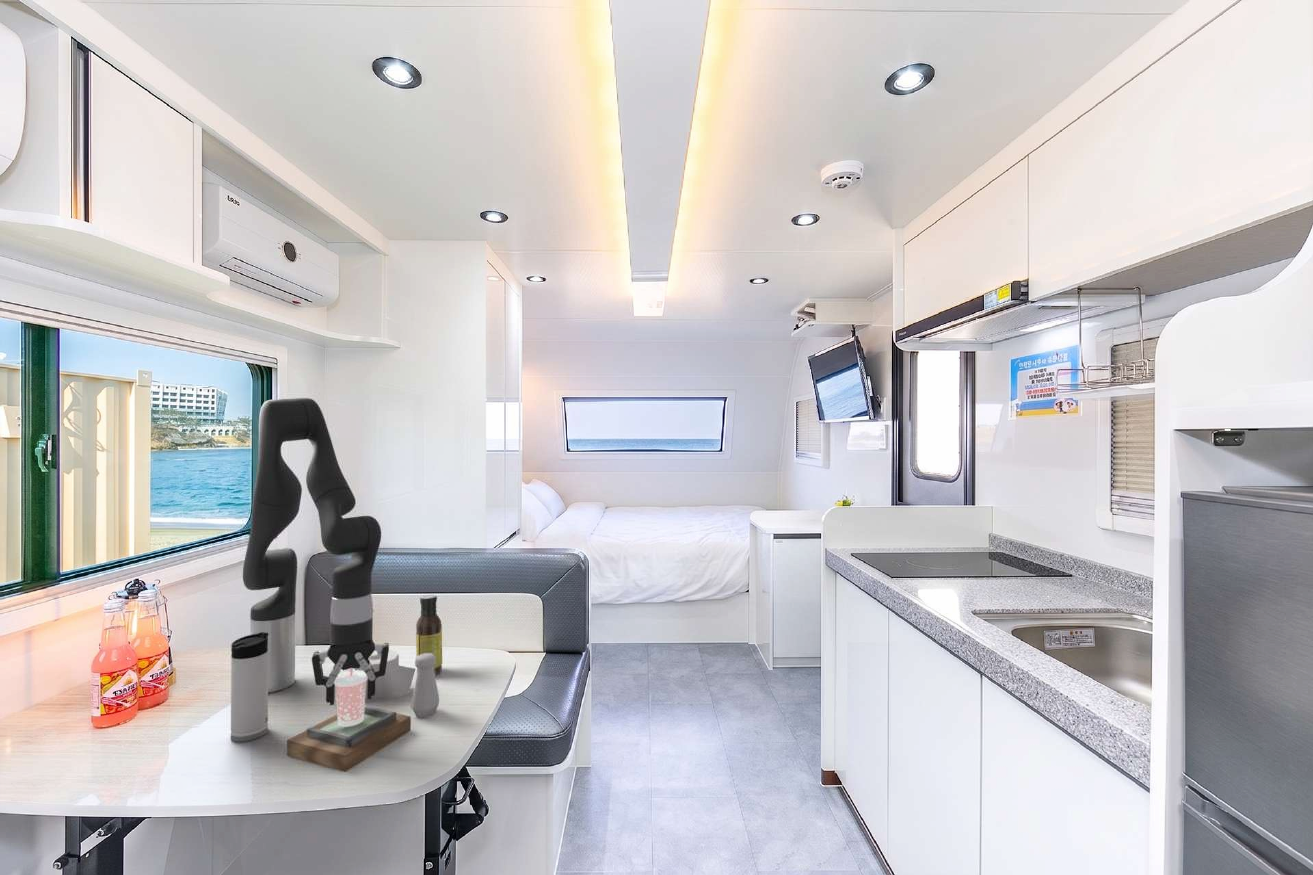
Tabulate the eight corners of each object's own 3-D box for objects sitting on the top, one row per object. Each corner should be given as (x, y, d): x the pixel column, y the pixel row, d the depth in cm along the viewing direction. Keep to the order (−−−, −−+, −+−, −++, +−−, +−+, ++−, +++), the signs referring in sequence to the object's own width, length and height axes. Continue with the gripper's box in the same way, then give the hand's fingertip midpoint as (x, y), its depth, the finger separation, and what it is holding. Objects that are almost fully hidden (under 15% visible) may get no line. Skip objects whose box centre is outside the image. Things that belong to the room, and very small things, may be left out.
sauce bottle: (447, 671, 153) (447, 595, 153) (427, 680, 147) (428, 601, 147) (430, 666, 156) (430, 591, 156) (410, 675, 151) (410, 597, 150)
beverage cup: (349, 731, 113) (350, 659, 113) (326, 725, 116) (326, 654, 115) (375, 717, 119) (375, 648, 119) (352, 711, 121) (352, 644, 121)
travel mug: (276, 729, 122) (277, 633, 122) (245, 745, 116) (245, 644, 116) (255, 724, 125) (255, 630, 124) (223, 739, 118) (223, 640, 118)
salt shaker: (429, 721, 126) (429, 661, 126) (405, 718, 127) (405, 659, 127) (444, 709, 132) (444, 651, 132) (421, 706, 133) (421, 649, 133)
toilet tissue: (416, 693, 140) (416, 657, 140) (353, 704, 134) (354, 667, 134) (414, 679, 148) (414, 645, 148) (354, 689, 142) (355, 654, 142)
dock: (287, 755, 112) (287, 732, 112) (356, 718, 127) (356, 697, 127) (345, 771, 107) (345, 747, 107) (410, 730, 122) (410, 709, 122)
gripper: (307, 627, 111) (307, 715, 111) (391, 618, 117) (390, 702, 117) (312, 616, 118) (312, 699, 118) (391, 607, 124) (390, 687, 124)
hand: (351, 700), depth 117 cm, fingers closed on beverage cup, 6 cm apart
